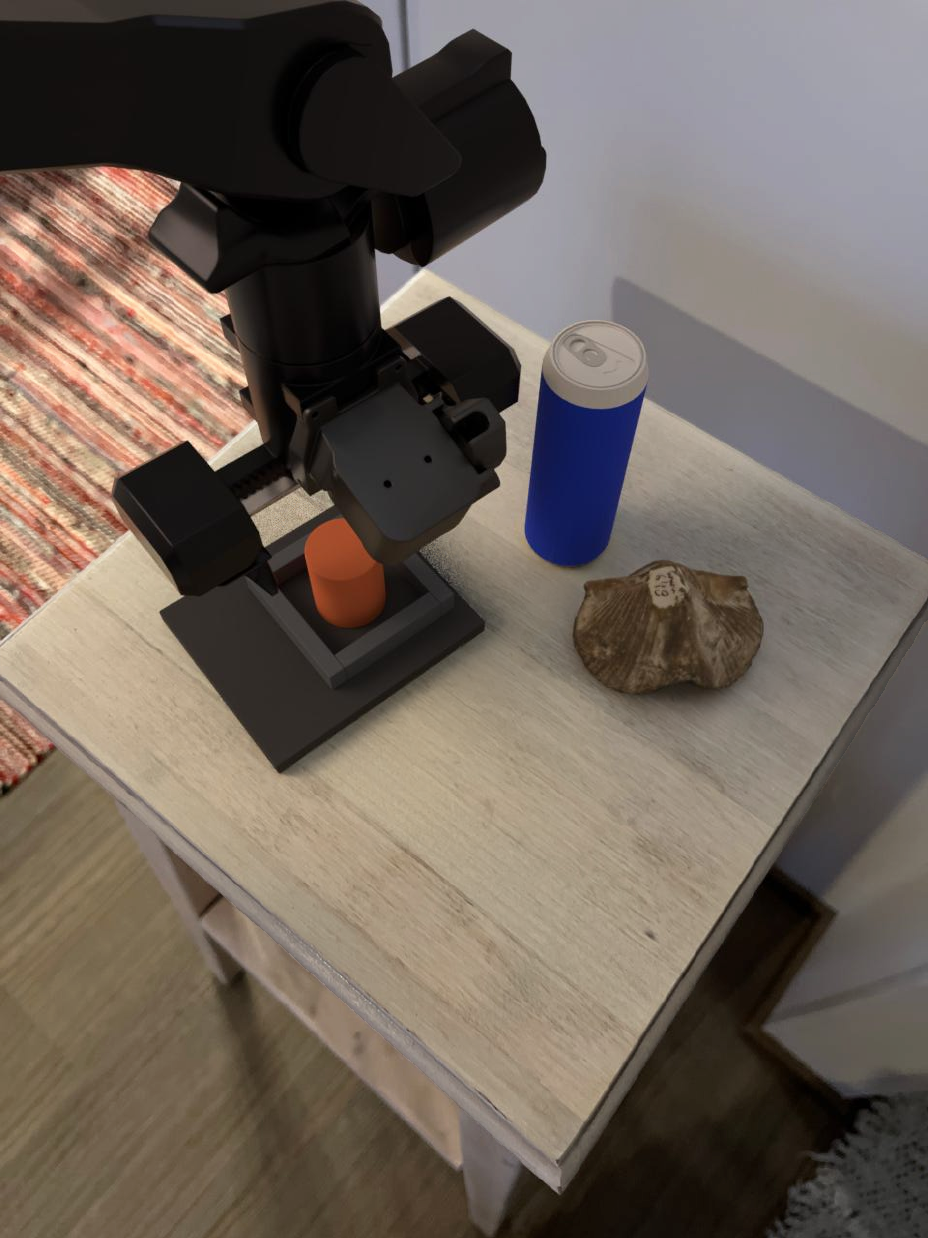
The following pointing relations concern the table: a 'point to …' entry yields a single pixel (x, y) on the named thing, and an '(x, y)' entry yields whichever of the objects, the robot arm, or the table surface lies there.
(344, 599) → the orange cylinder
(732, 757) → the table surface
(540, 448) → the beverage can
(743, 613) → the fossilized seashell
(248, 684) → the base pad
